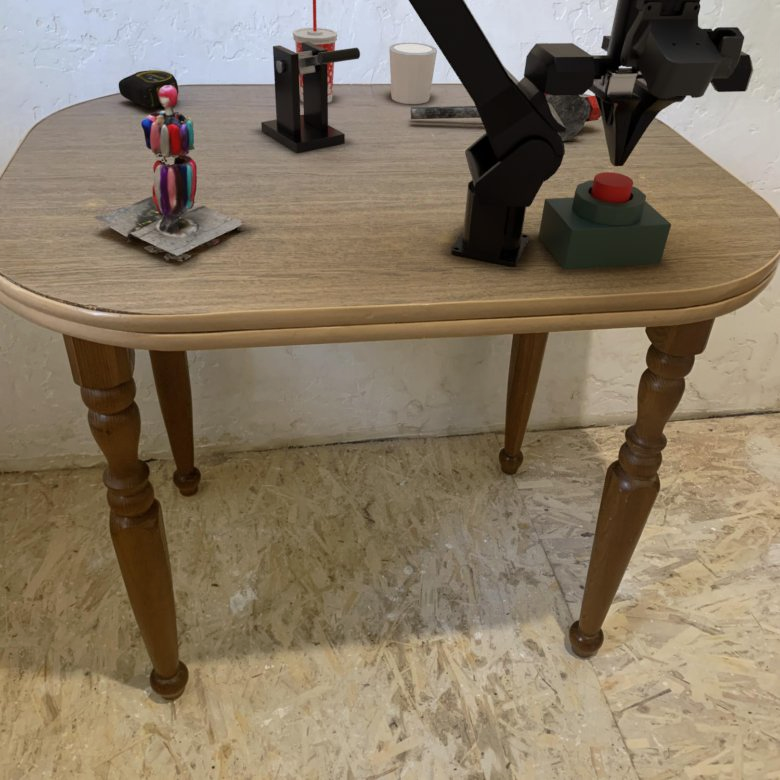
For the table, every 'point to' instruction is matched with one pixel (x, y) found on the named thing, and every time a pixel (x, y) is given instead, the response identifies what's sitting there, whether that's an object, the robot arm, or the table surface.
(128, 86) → the tape measure
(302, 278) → the table surface
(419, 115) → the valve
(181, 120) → the statue
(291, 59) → the bracket
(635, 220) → the button box
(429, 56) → the white tapered cup
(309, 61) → the lever
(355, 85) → the table surface
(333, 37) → the beverage cup
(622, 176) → the button
